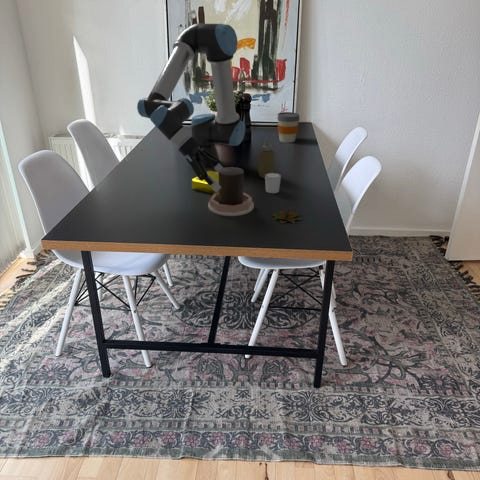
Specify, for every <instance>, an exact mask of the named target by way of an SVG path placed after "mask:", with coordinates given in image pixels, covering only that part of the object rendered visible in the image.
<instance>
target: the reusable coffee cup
mask: <svg viewBox="0 0 480 480" xmlns="http://www.w3.org/2000/svg"><path fill="white" fill-rule="evenodd" d="M299 121H300V113H296V112H291V111H290V112H287V111H286V112H285V111H284V112H279V113H277V132H278V137H279V141H280V142H281V143H287V144H289V143H294V142H295V141H296V137H297V134H298V129H299V125H300V124H299Z"/></svg>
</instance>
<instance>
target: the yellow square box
mask: <svg viewBox="0 0 480 480" xmlns="http://www.w3.org/2000/svg"><path fill="white" fill-rule="evenodd" d="M206 172H207V174H208V175H210V176H211V177H212V178H213V179H214V180H215V181H216V182H217V183H218V184H219V173H218V172H217V171H216V170H215V171H214V170H206ZM191 189H193V190H196V191H200V192H205V193H209V194H212V195H214V194H215V193H219V190H218V191H217V192H215V191H214V190H213V189H212V188H211V187H210V186H209V185H208V183H207V182H206V181H205V180H203V181H201V180H199V178H198V177H197V176H195V177H194V178H192V179H191Z"/></svg>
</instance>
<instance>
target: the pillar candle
mask: <svg viewBox="0 0 480 480" xmlns="http://www.w3.org/2000/svg"><path fill="white" fill-rule="evenodd" d="M244 174H245V172H244V169H242V168H240V167H234V166H229V167H227V166H226V167H223V168H221V169H220V170H219V185H220V186H221V188H220V189H219V198H218V199H219V200H218V203H219V204H224V205H238V204H242V203H243V192H244V177H245V176H244Z"/></svg>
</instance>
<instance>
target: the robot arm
mask: <svg viewBox="0 0 480 480" xmlns="http://www.w3.org/2000/svg"><path fill="white" fill-rule="evenodd" d="M237 49H238V36H237V33H236V31H235V29H234V28H233V27H232V26H231V25H230V24H225V23H224V24H223V23H200V22H199V23H194V24H192V25H190V26H188V27H187V28H186V29H184V30H183V31H182V32H181V33H180V34H179V35H178V36H177V38H176V39H175V41H174V43H173V45H172V52H171V54H170V56H169V57H168V60H167V61H166V62H165V65H164V66H163V69H162V71H161V72H160V75H159V77H158V78H157V80H156V82H155V84H154V86H153V87H152V89H151V91H150V93H149V95H148V97H141V98H140V99H139V100H138V101H137V105H136V106H137V107H136V109H137V113H138V114H139V115H140V117H142V118H147V119H150V121H151V123H153V125H154V126H155V128H156V129H158V130H159V131H160V132H161V133H162V135H164V137H166V139H167V140H168V141H169V142H170V143H171V145H173V146H174V147H175V148H176V149H178V152H179V153H180V154H182V156H183V157H186V156H187V155H188V156H187V158H186V159H185V160H186V161H187V162H188V164H189V165H190V166H191V168H192V170H193V171H194V173H195V175H196V177H198V178H199V180H201V181H203V180H205V181H206V182H207V183H208V185H209V186H210V187H211V188H212V189H213V190H214V191H215V192H217V191H218V190H219V189H220V188H221V186H220V185H219V184H218V183H217V182H216V181H215V180H214V179H213V178H212V177H211V176H210V175H208V174H207V170H206V168H205V167H210V166H212V167H213V169H214V170H215V172H218V173H219V170H220V169H221V168H224V167H223V166H222V164H220V163H221V160H220V154H219V152H218V151H219V150H218V149H217V148H218V147H217V144H221V145H227V146H239V145H240V144H241V143H242V142H243V140H244V137H245V134H246V123H245V122H244V121H242V120H241V119H240V114H239V113H238V112H236V102H235V92H234V83H233V74H232V66H231V65H232V64H231V62H232V60H233V58H234V55H235V54H236V53H237ZM197 54H204V55H205V58H206V61H207V62H208V63H209V64H210V69H211V77H212V84H213V91H214V98H215V105H216V114H215V113H202V114H197V115H194V116H193V114H194V112H195V107H194V104H193V103H192V101H191V100H190V99H188V98H186V97H185V98H184V97H183V98H179V99H178V100H177V101H174V100H170V98H171V96H172V94H173V92H174V90H175V88H176V87H177V84H178V83H179V80H180V79H181V77H182V76H183V73H184V71H185V69H186V68H187V66H188V63H189V62H190V61H193V59H194V58H195V56H196V55H197ZM191 116H193V117H192V118H191ZM190 118H191V122H190V123H191V124H190V127H191V133H190V132H189V130H187V128H186V127H184V125H183V124H184V123H185V122H186V121H187V120H189V119H190Z"/></svg>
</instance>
